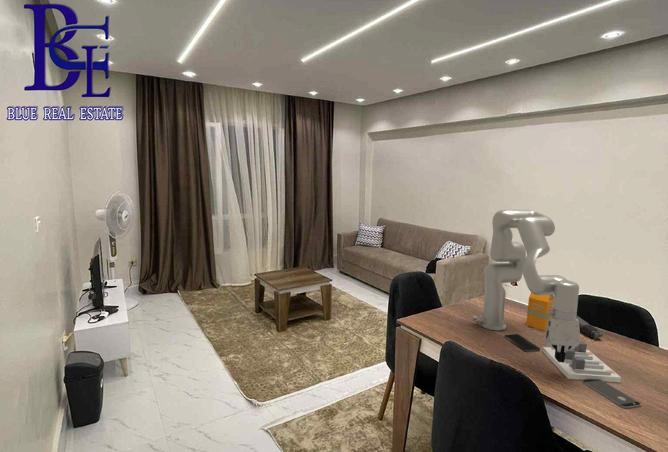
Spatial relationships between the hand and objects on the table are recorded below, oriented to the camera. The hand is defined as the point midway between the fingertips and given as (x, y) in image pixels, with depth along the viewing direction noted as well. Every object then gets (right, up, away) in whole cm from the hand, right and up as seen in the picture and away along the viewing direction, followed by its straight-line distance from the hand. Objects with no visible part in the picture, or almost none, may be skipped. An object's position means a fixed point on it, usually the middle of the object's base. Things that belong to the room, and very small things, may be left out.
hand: (559, 360), depth 136 cm
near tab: (+7, -3, 0) cm, 8 cm away
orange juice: (+17, +1, +44) cm, 47 cm away
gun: (+34, 0, +39) cm, 52 cm away
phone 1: (-1, -2, +25) cm, 25 cm away
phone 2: (+11, -8, -11) cm, 17 cm away
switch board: (+12, -5, +7) cm, 14 cm away
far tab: (+16, -2, +13) cm, 21 cm away
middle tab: (+8, -2, +7) cm, 11 cm away
